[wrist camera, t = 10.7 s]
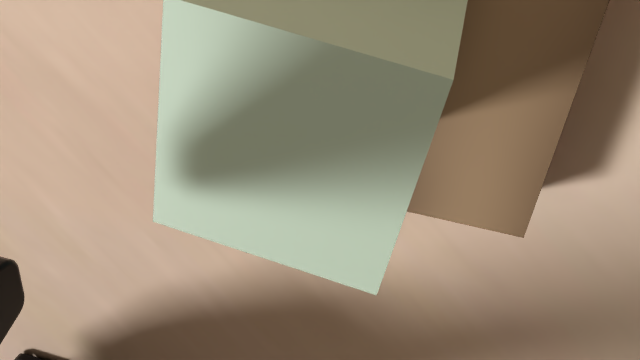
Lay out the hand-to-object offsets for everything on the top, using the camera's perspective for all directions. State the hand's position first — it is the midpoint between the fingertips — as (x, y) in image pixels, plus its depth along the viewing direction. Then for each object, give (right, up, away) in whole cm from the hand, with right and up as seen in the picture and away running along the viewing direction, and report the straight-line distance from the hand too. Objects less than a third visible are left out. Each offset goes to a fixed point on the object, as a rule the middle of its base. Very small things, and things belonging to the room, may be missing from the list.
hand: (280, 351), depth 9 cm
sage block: (+2, +7, +7) cm, 10 cm away
